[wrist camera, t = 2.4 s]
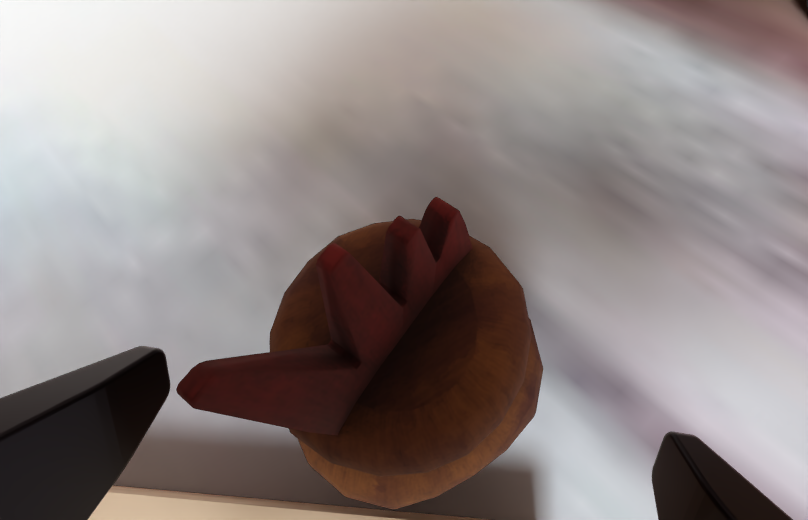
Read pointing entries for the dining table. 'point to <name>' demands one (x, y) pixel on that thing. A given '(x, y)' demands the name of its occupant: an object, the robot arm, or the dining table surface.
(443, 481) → the wooden figurine
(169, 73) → the dining table surface
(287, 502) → the maple board
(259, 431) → the dining table surface
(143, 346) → the robot arm
